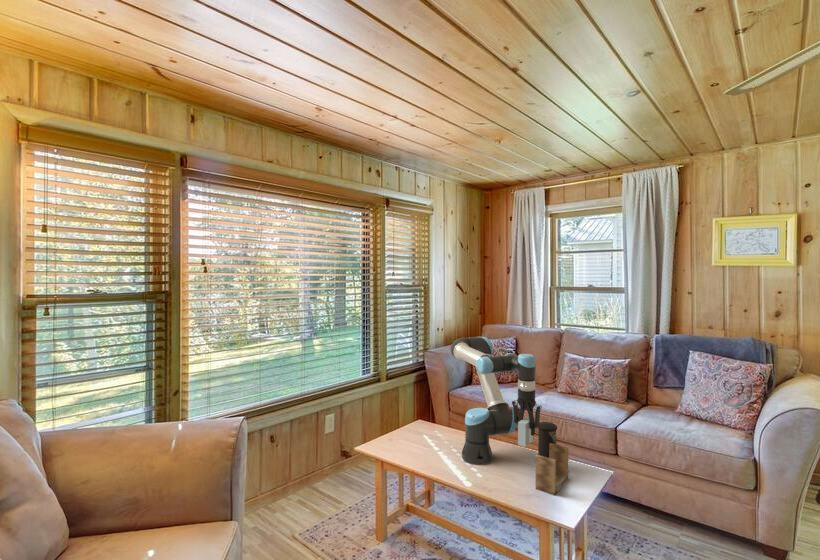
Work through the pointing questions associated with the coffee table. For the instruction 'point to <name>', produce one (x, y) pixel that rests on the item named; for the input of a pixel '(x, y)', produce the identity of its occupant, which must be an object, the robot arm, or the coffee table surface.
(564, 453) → the brown cabinet body
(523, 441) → the door slab
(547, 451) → the container
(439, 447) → the coffee table surface
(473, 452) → the robot arm
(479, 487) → the coffee table surface
